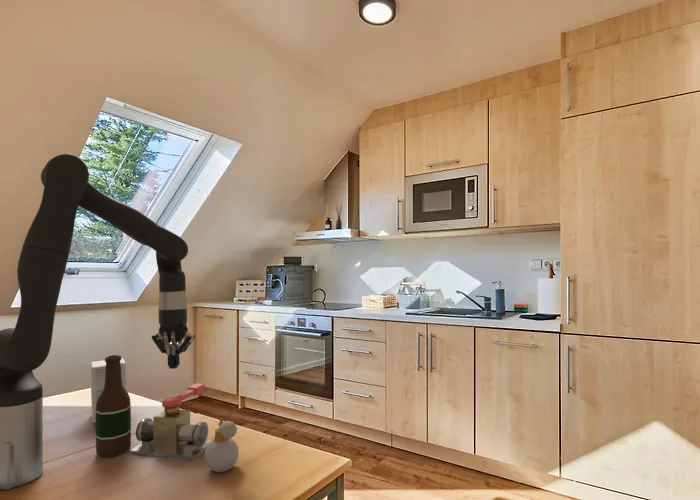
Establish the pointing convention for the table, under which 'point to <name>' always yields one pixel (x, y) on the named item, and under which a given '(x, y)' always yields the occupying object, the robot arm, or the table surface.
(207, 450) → the perfume bottle
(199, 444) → the valve
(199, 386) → the lever
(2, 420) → the robot arm
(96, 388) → the supplement box
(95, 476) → the table surface
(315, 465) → the table surface
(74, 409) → the table surface
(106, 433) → the beer bottle
